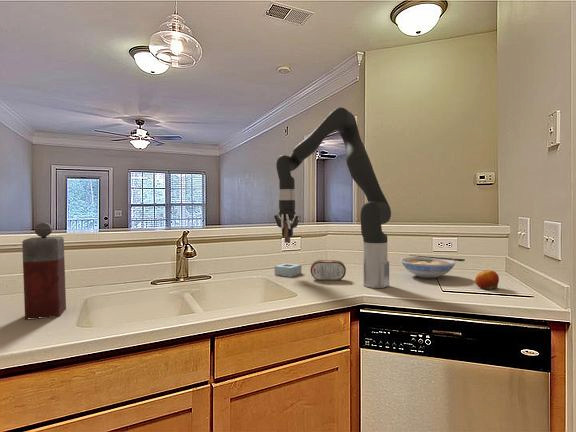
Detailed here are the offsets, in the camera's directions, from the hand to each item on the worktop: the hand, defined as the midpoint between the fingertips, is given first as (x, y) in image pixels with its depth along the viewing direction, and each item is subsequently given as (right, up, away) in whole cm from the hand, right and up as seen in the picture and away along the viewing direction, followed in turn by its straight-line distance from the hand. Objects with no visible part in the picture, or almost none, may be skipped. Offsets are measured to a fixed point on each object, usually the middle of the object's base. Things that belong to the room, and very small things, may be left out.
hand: (287, 236), depth 170 cm
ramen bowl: (+61, -17, -9) cm, 64 cm away
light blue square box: (0, -17, +1) cm, 17 cm away
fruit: (+75, -18, -31) cm, 84 cm away
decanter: (-74, -21, -56) cm, 95 cm away
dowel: (0, -3, 0) cm, 3 cm away
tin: (+17, -18, -13) cm, 28 cm away
